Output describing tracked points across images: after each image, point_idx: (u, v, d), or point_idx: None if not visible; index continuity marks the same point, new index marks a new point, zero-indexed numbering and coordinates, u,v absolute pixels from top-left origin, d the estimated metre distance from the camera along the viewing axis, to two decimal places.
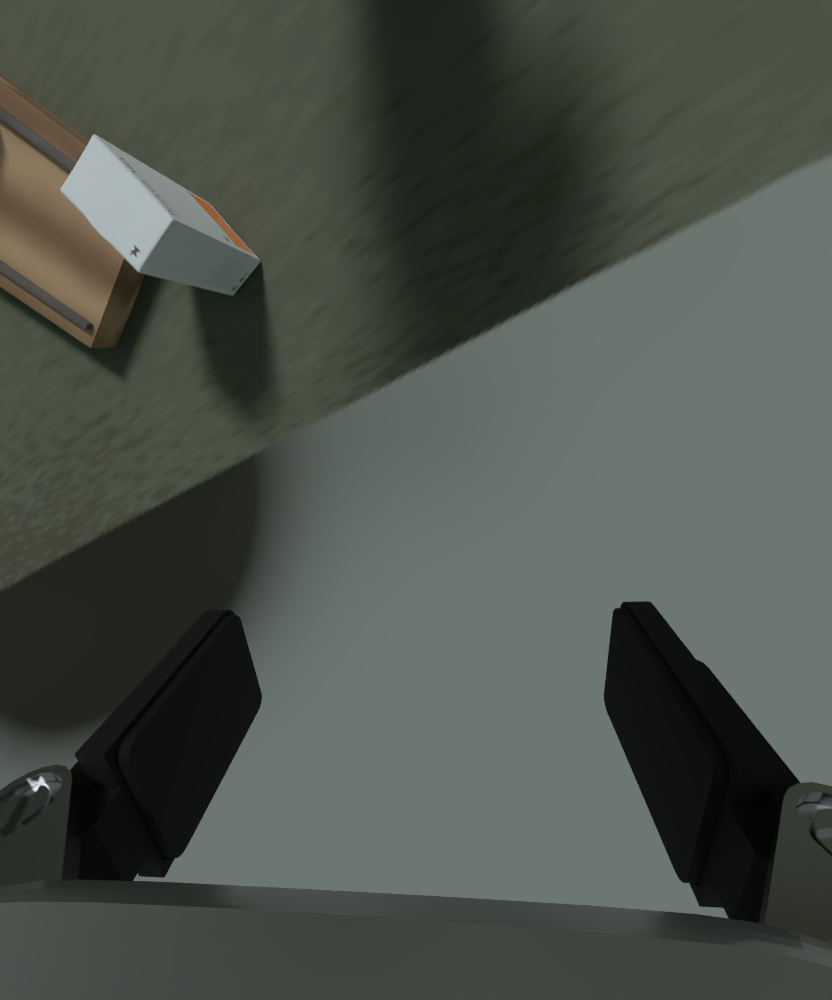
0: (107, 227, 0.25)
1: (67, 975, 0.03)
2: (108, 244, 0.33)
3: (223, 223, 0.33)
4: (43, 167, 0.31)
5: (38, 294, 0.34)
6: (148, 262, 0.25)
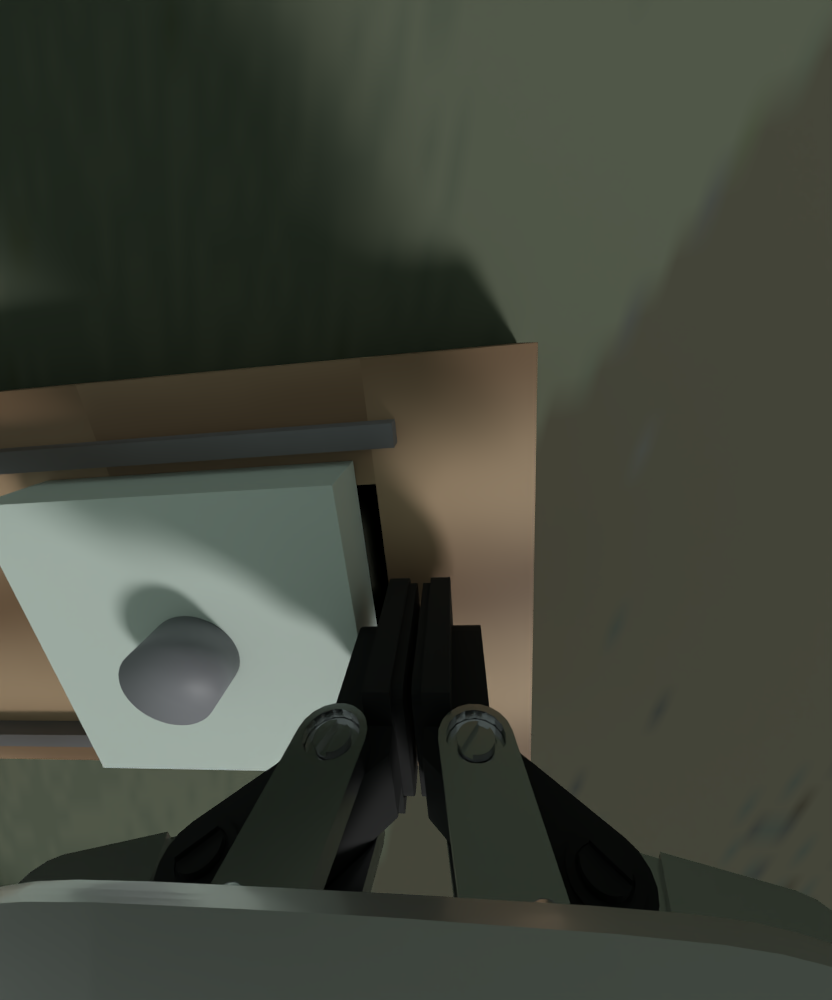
0: None
1: (67, 975, 0.03)
2: None
3: None
4: None
5: None
6: None
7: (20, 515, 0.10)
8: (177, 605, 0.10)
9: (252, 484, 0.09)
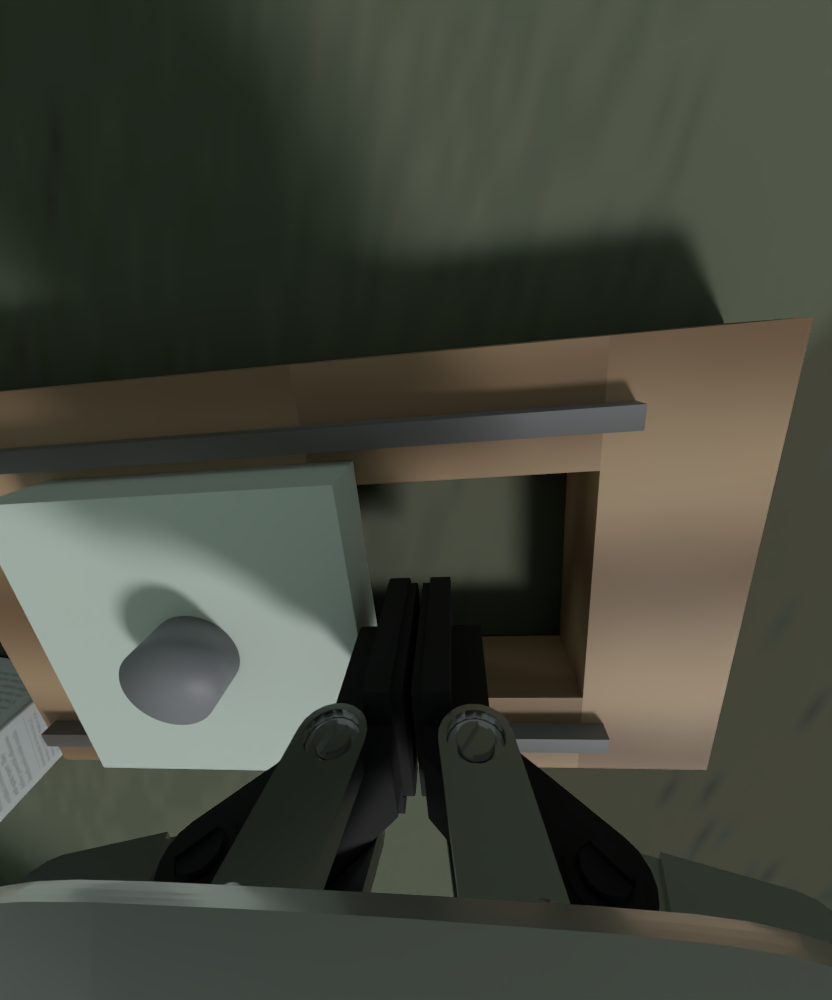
0: None
1: (67, 975, 0.03)
2: (43, 654, 0.14)
3: None
4: None
5: (29, 459, 0.11)
6: None
7: (20, 515, 0.10)
8: (177, 605, 0.10)
9: (252, 484, 0.09)
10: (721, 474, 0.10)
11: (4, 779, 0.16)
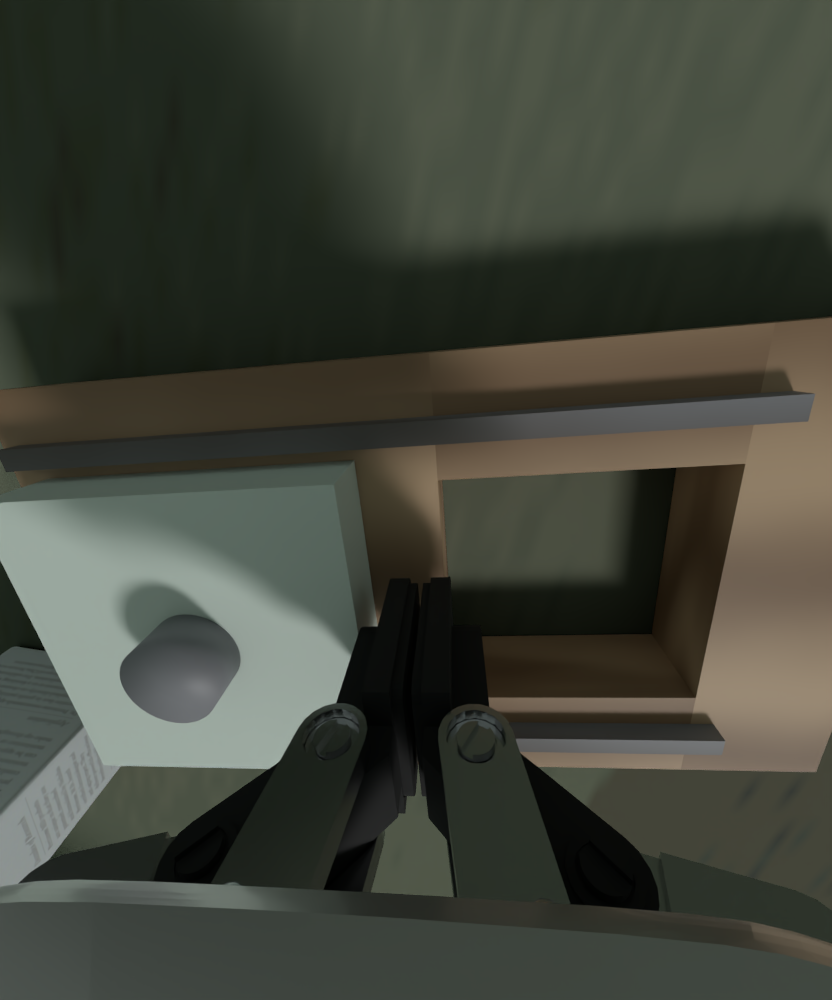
0: None
1: (67, 975, 0.03)
2: None
3: None
4: None
5: (149, 449, 0.10)
6: None
7: (22, 513, 0.10)
8: (178, 603, 0.10)
9: (254, 483, 0.09)
10: None
11: (82, 779, 0.16)
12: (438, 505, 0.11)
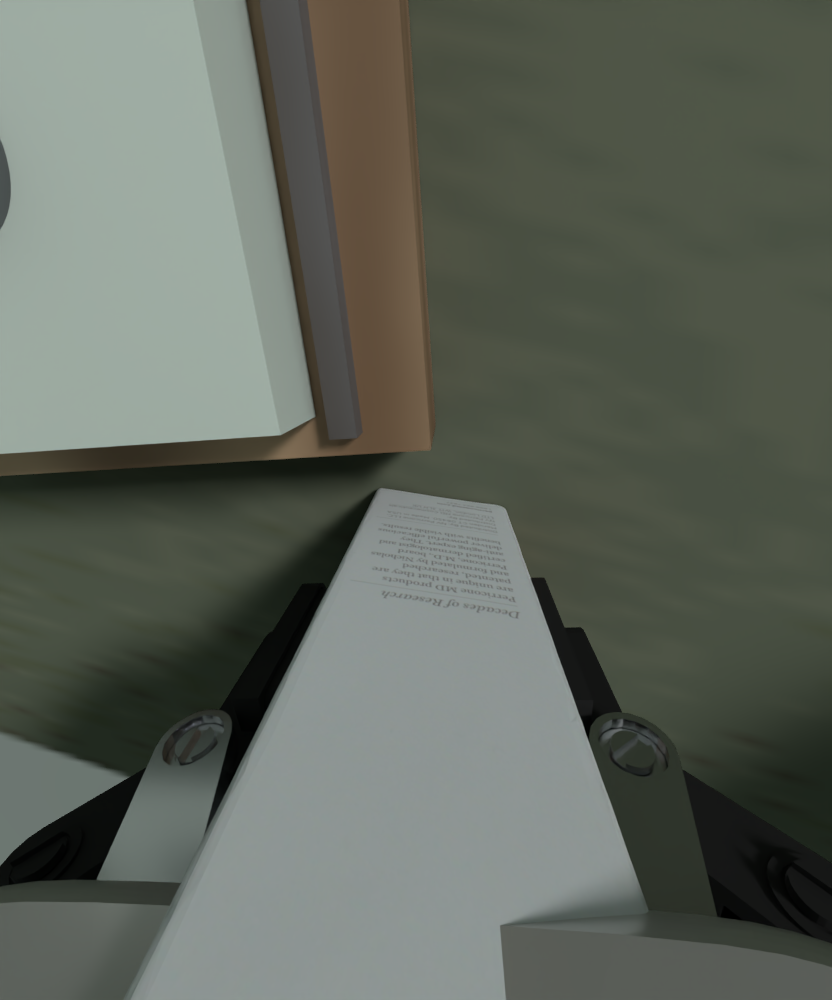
0: None
1: (67, 975, 0.03)
2: None
3: None
4: None
5: None
6: None
7: None
8: None
9: None
10: None
11: (451, 549, 0.09)
12: None
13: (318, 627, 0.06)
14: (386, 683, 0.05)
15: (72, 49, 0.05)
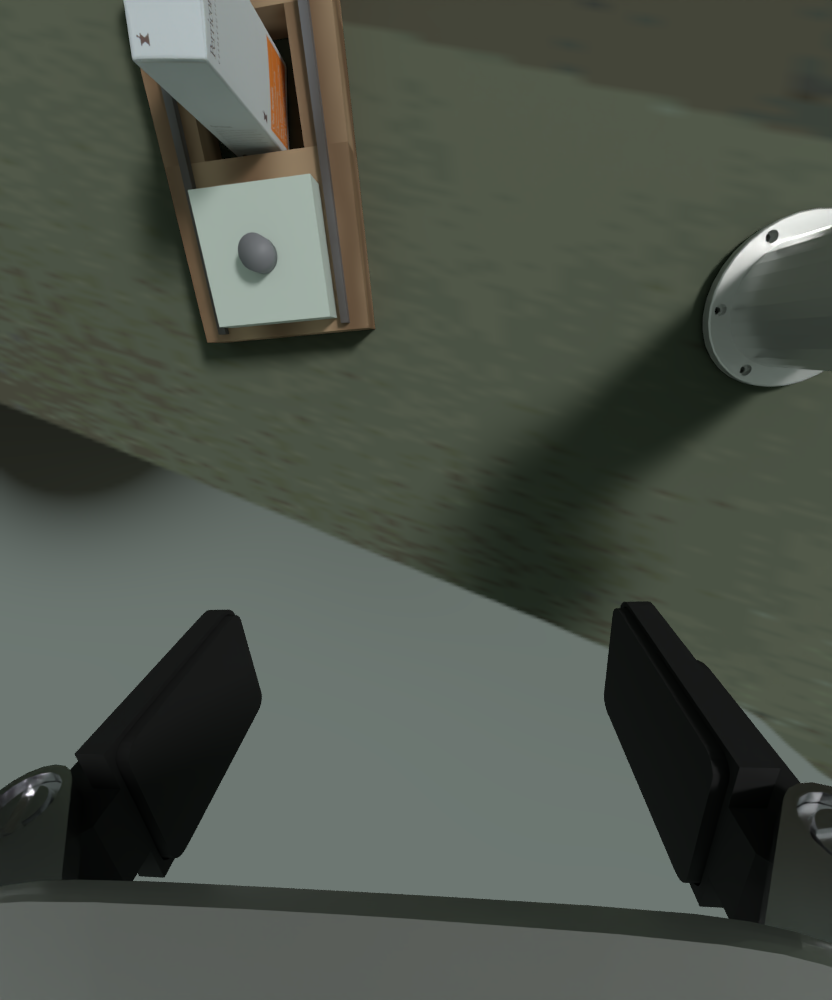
0: None
1: (67, 975, 0.03)
2: None
3: (280, 96, 0.29)
4: None
5: None
6: (150, 62, 0.21)
7: (219, 309, 0.31)
8: None
9: None
10: None
11: None
12: (214, 160, 0.30)
13: None
14: None
15: (294, 237, 0.29)
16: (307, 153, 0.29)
